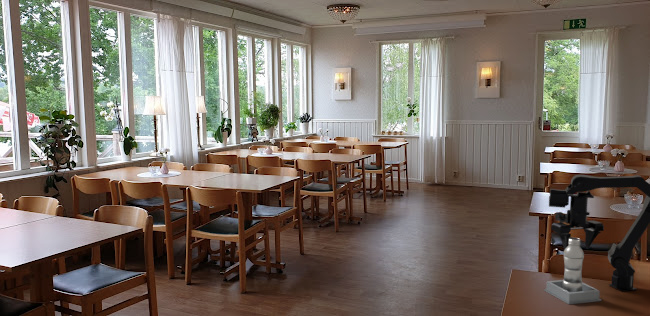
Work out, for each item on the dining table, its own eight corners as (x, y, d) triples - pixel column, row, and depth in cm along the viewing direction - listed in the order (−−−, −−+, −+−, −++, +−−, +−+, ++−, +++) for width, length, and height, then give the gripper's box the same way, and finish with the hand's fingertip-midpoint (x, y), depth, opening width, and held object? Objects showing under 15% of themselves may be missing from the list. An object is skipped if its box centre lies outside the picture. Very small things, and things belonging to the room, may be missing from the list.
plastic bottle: (586, 296, 175) (589, 240, 172) (569, 298, 174) (571, 242, 171) (574, 289, 181) (577, 236, 179) (557, 291, 180) (560, 237, 178)
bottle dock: (575, 287, 185) (575, 278, 184) (601, 300, 172) (602, 291, 172) (544, 290, 182) (544, 281, 182) (568, 304, 169) (569, 294, 169)
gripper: (584, 203, 197) (582, 241, 198) (542, 205, 193) (541, 244, 194) (606, 209, 186) (603, 249, 188) (562, 211, 182) (560, 253, 183)
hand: (576, 249), depth 189 cm, fingers open, 9 cm apart
